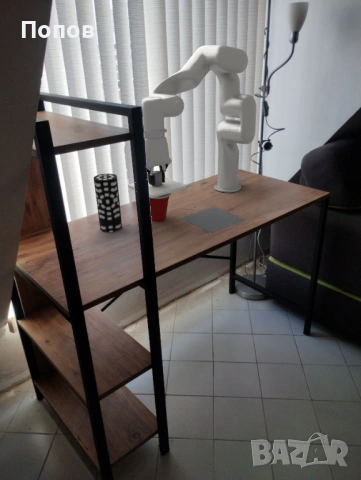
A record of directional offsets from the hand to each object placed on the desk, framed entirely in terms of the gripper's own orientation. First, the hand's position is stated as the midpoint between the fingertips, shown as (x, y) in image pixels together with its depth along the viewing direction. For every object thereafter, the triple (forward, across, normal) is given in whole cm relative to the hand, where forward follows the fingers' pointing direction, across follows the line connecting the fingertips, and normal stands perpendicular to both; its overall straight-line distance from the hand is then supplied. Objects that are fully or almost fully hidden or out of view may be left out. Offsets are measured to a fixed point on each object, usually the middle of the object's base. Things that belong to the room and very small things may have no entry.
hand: (156, 182), depth 146 cm
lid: (+2, 0, 0) cm, 2 cm away
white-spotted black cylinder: (+15, +18, -6) cm, 25 cm away
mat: (+15, -16, +14) cm, 26 cm away
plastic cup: (+15, 0, 0) cm, 15 cm away
